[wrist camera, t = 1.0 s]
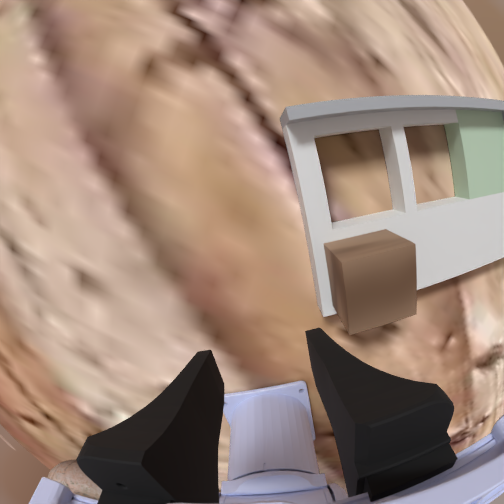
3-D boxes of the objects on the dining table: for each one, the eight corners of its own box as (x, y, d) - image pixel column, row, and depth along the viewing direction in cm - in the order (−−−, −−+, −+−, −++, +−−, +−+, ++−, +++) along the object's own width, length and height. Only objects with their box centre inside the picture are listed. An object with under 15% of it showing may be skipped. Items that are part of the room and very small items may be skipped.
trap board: (504, 246, 20) (526, 256, 17) (317, 304, 21) (328, 327, 18) (490, 106, 17) (514, 102, 13) (279, 118, 18) (285, 107, 14)
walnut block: (390, 289, 19) (416, 314, 15) (332, 305, 19) (349, 335, 15) (385, 229, 18) (415, 243, 14) (323, 243, 18) (341, 262, 14)
